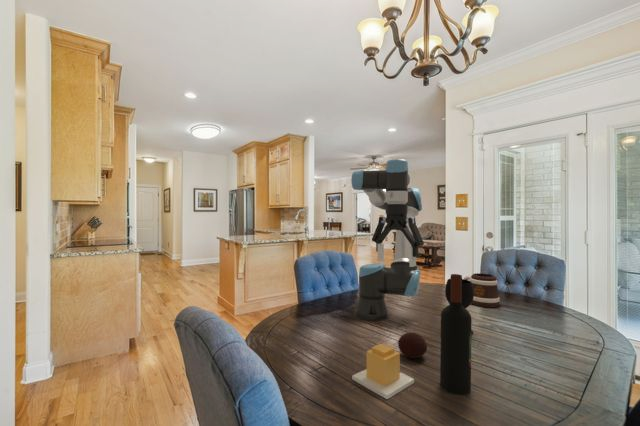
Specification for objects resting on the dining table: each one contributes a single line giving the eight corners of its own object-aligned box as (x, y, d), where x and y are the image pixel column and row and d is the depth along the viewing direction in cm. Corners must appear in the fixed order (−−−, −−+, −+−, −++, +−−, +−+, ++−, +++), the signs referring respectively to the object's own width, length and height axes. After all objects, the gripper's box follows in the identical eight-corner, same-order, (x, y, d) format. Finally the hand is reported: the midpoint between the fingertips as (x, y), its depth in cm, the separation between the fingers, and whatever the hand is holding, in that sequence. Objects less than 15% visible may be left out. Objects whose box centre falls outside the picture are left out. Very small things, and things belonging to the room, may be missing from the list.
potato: (395, 351, 103) (395, 328, 103) (423, 351, 103) (423, 328, 103) (401, 362, 95) (401, 337, 95) (431, 363, 95) (431, 338, 95)
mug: (506, 305, 157) (506, 276, 157) (487, 309, 150) (488, 279, 150) (471, 296, 174) (471, 270, 174) (453, 299, 167) (453, 272, 167)
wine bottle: (435, 379, 86) (436, 272, 86) (460, 378, 86) (462, 272, 86) (448, 395, 78) (449, 278, 78) (476, 394, 79) (478, 277, 79)
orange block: (366, 376, 85) (366, 347, 85) (381, 369, 89) (381, 341, 89) (385, 386, 80) (385, 355, 80) (399, 378, 84) (399, 348, 84)
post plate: (352, 379, 85) (352, 357, 85) (379, 365, 93) (379, 346, 93) (387, 399, 76) (387, 375, 76) (414, 382, 84) (414, 360, 84)
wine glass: (476, 337, 116) (477, 284, 116) (447, 334, 118) (448, 282, 118) (469, 327, 126) (469, 278, 126) (442, 325, 128) (442, 277, 128)
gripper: (362, 203, 115) (362, 260, 115) (422, 202, 96) (421, 270, 96) (375, 204, 120) (375, 258, 120) (434, 203, 101) (434, 267, 101)
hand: (395, 263), depth 108 cm, fingers open, 13 cm apart
